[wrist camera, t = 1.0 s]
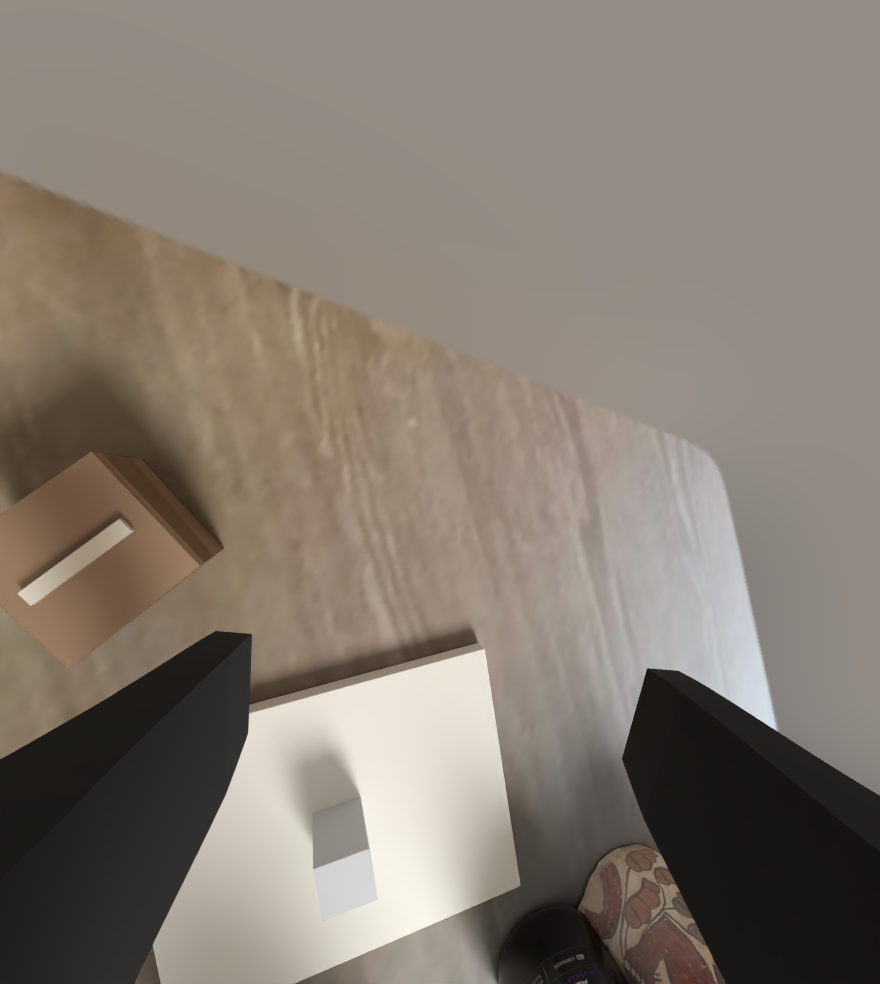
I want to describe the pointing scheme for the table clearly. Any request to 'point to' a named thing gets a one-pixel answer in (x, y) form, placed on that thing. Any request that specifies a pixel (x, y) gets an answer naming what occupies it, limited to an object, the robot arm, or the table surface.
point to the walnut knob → (95, 552)
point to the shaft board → (407, 819)
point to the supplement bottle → (557, 951)
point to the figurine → (646, 920)
